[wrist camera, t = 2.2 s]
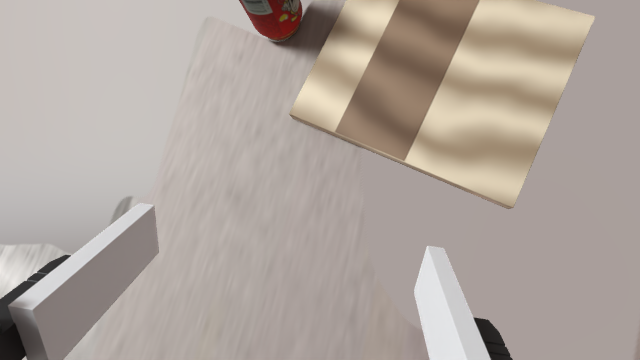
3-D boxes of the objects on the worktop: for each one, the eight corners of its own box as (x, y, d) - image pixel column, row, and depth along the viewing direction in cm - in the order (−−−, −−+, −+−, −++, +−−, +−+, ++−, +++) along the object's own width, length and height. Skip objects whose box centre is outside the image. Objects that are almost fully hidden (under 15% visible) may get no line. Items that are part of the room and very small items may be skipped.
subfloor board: (369, -36, 46) (369, -45, 44) (587, 24, 39) (596, 16, 37) (292, 117, 44) (288, 113, 42) (507, 209, 37) (513, 207, 35)
